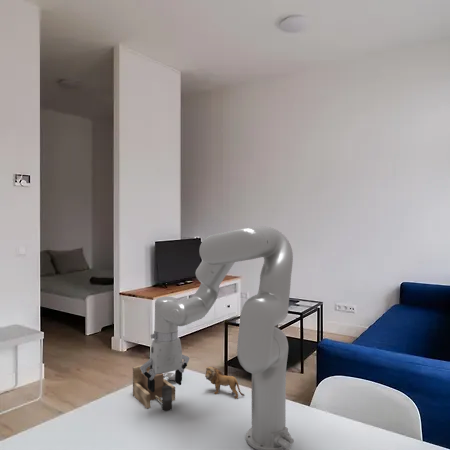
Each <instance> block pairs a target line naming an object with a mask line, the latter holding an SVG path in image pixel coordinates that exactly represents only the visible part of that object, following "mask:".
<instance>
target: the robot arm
mask: <svg viewBox="0 0 450 450" xmlns="http://www.w3.org/2000/svg"><path fill="white" fill-rule="evenodd" d="M198 250H199V257H200V259H201V262H200V263H199V265H198V267H197V268H196V269H195V278H196V279H197V281H199V282H200V284H199V287H198V289H196V291H195V293H194V295H193V296H192V297H189V298H186V299H183V300H178V299H177V298H176V297H173V296H161V297H157V298H156V300H155V302H154V331H153V333H151V334H150V339H153V340H152V342H151V346H150V351H149V359H148V360H147V361H146V362H145V363H143V364H141V365H142V366H141V367H140V369H141V371H142V373H143V374H144V375H145V376H146V377H147V378H148V389H149V390H150V391H151V392H154V391H155V380H154V379H153V378H154V377H155V375H156V374H162V373H163V374H164V373H166V372H171V371H175V370H176V371H175V380H174V382H175V383H176V384H177V385H178V386H181V385H182V381H183V373H184V372H185V369H186V368H187V366H188V363H189V361H190V357H189V356H187V355H185V354H183V350H182V349H183V348H182V342H181V339H180V337H178V336H179V335H178V333H179V332H178V331H179V330H178V329H179V327H184V326H187V325H190V324H192V323H195V322H197V321H200V320H202V319H203V318H204V317H205V316H206V315H207V314H208V313H209V311H210V310H211V309H212V307H213V306H214V304H215V303H216V300H218V296H219V292H220V286H221V284H222V282H223V281H224V279H225V278H226V276H227V275H228V273H229V272H230V270H231V269H232V267H233V266H234V264H235V263H237V262H238V263H239V262H244V261H248V260H249V261H252V260H255V259H260V258H263V263H262V268H261V271H260V273H259V283H258V284H259V285H258V291H257V294H255V295H252V296H251V297H249V298H248V299H247V300H246V301H245V303H244V304H243V305H242V308H241V311H240V316H239V325H238V326H239V327H238V336H237V346H236V347H237V348H236V351H237V359H238V362H239V364H240V367H242V368H243V370H245V372H248V373H250V374H251V427H250V428H249V429H248V430H247V431H246V434H245V440H246V443H247V444H248V445H249V446H250V447H252V448H253V449H255V450H290V449H291V447H292V444H294V442H295V439H294V438H292V436H291V433H290V432H289V428H288V427H287V426H286V425H287V424H286V421H287V420H286V411H287V410H286V405H287V404H286V403H287V402H286V398H287V397H286V392H287V391H286V387H287V383H286V382H287V379H286V378H287V364H288V363H287V362H288V357H289V356H288V355H289V342H288V338H287V336H286V334H285V333H284V332H283V331H282V330H281V329H280V328H278V327H277V326H278V325H280V324H281V323H282V322H283V321H285V319H286V318H287V316H288V313H289V304H290V296H291V295H290V293H291V285H292V284H291V283H292V282H291V281H292V271H293V264H294V263H293V262H294V259H293V258H294V253H293V249H292V246H291V243H290V241H289V239H288V238H287V237H286V236H285V234H283V233H282V232H281V231H279V230H278V229H276V228H273V227H271V226H255V227H253V226H252V227H244V228H238V229H235V230H229V231H225V232H219V233H214V234H210V235H208V236H206V237H205V238H204V239H203V240H202V241H201V243H200V245H199V249H198ZM149 366H150V371H149V372H147V370H146V369H147V368H148V367H149Z"/></svg>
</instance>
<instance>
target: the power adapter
mask: <svg viewBox="0 0 450 450" xmlns="http://www.w3.org/2000/svg"><path fill="white" fill-rule="evenodd" d="M175 371H176V370H175ZM175 371H171V372H166V373H163V378H164V379H165V378H168V380H169V381H175Z"/></svg>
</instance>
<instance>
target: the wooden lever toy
mask: <svg viewBox="0 0 450 450" xmlns="http://www.w3.org/2000/svg"><path fill="white" fill-rule="evenodd" d="M149 371H150V370H149ZM149 371H147V372H149ZM163 376H164V373H162V374H156V375H155V377H154V378H153V379H154V380H155V391H154V392H151V391H150V390H149V389H148V378H147V377H146V376H145V375H144V374H143V373H142V372H141V373H140V385H141V386H142V387H143V388H144V389H145V390H146V391H148V392H149V393H150V402H151V401H154V400H158V401H159V402H160V403H161V410H162V411H164V412H169V411H171V410H172V409H173V401H172V387H171V386H164V379H165V378H163Z"/></svg>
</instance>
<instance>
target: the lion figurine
mask: <svg viewBox="0 0 450 450" xmlns="http://www.w3.org/2000/svg"><path fill="white" fill-rule="evenodd" d="M204 377H205V378H206V380H208V381H210V383H211V384H212V385H214V387H215V391H213V392H214V395H217V394H219V393H220V391H221V386H224V387H228V386H229V388H230V390H231V394H233V395H234V394H235V395H234V399H235V400H237V399H239V394H240V395H241V396H242V397H244V396H246V395H245V393H242V391H241V390H240V385H239V382H238V379H237V378H236V377H235V376H232V375H225V374H223V373H222V371H221V370H219V369H218V368H216V367H214V366H208V367H206V369H205V376H204Z"/></svg>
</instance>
